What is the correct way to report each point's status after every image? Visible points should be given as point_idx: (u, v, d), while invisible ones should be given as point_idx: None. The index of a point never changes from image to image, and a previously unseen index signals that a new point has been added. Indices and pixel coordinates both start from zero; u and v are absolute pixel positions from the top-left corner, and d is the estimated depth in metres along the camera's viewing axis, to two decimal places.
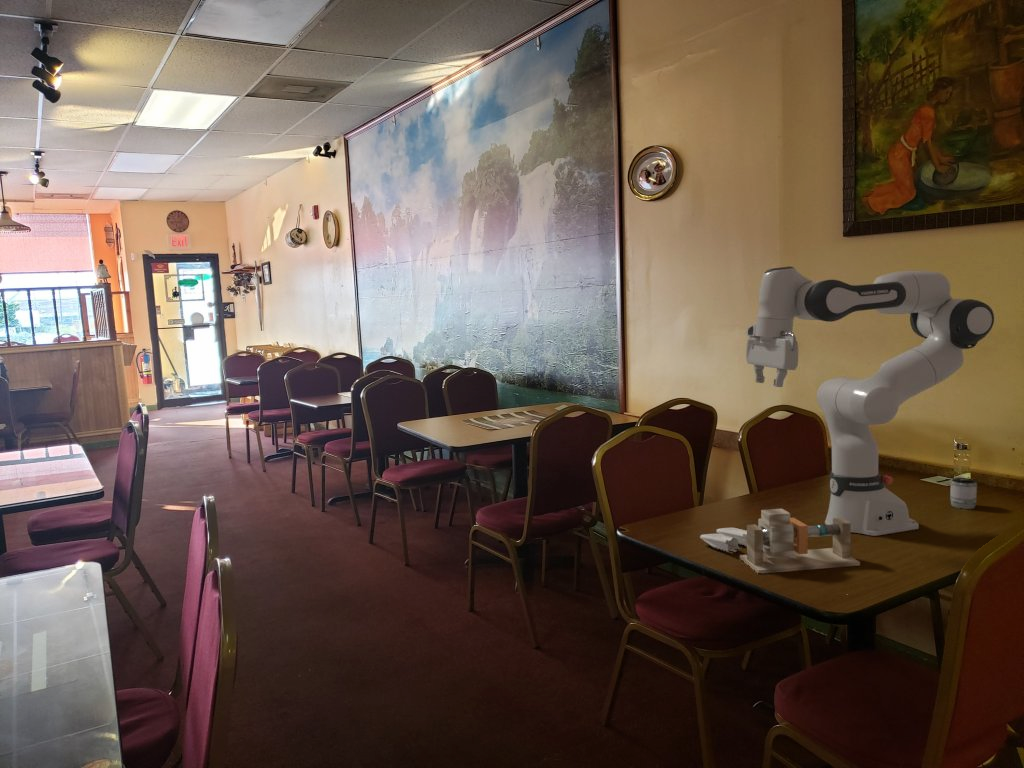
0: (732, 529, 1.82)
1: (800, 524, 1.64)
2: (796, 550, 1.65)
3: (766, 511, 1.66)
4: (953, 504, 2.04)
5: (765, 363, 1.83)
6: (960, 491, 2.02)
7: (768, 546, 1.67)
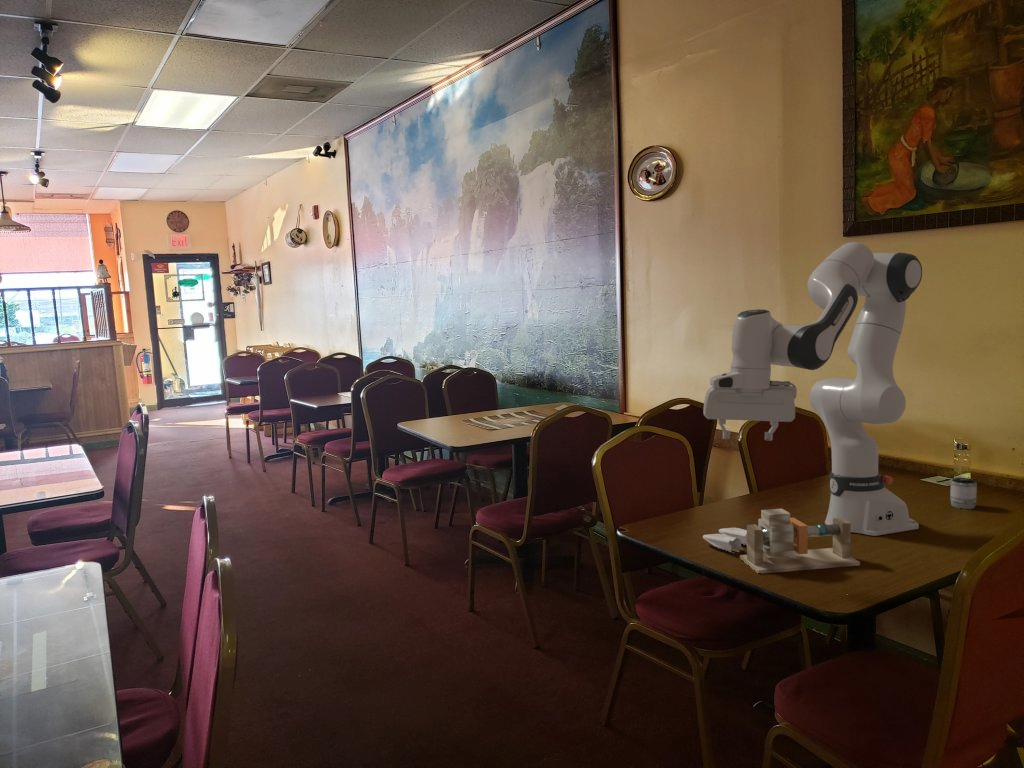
0: (734, 529, 1.82)
1: (800, 524, 1.64)
2: (796, 550, 1.65)
3: (766, 511, 1.66)
4: (953, 504, 2.04)
5: (754, 417, 1.66)
6: (960, 491, 2.02)
7: (768, 546, 1.67)
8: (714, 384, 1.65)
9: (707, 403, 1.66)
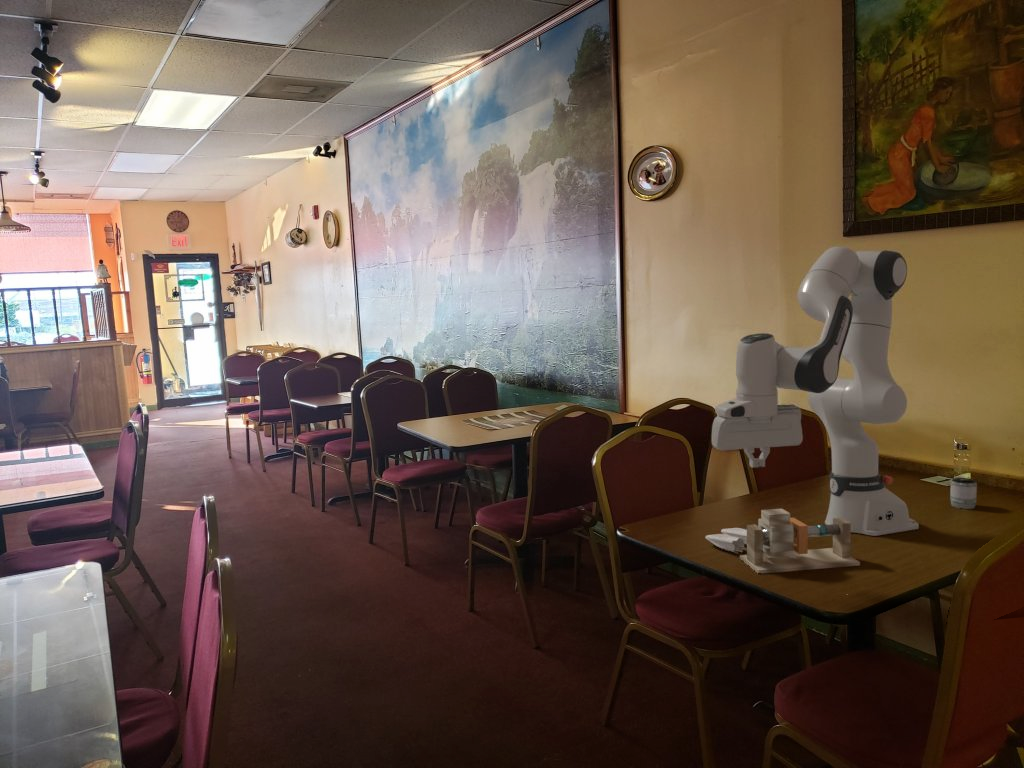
0: (737, 529, 1.82)
1: (800, 524, 1.64)
2: (796, 550, 1.65)
3: (766, 511, 1.66)
4: (953, 504, 2.04)
5: (765, 444, 1.62)
6: (960, 491, 2.02)
7: (768, 546, 1.67)
8: (726, 414, 1.59)
9: (719, 434, 1.60)
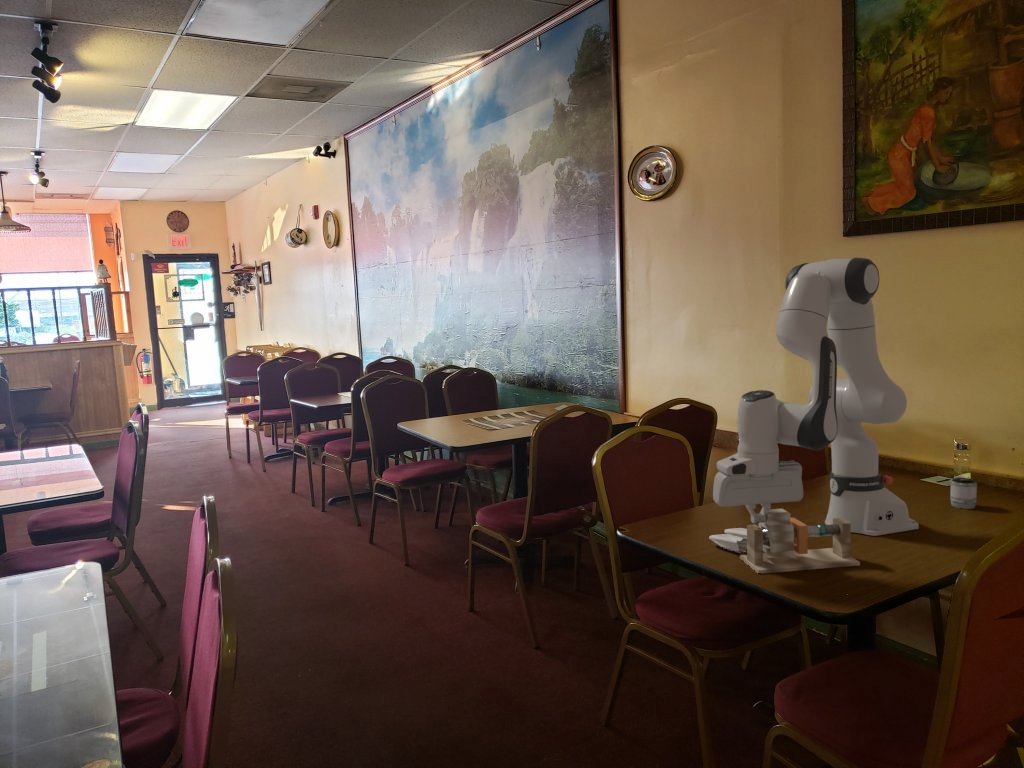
0: (741, 529, 1.82)
1: (800, 524, 1.64)
2: (796, 550, 1.65)
3: None
4: (953, 504, 2.04)
5: (766, 501, 1.63)
6: (960, 491, 2.02)
7: (768, 546, 1.67)
8: (728, 472, 1.60)
9: (721, 491, 1.61)
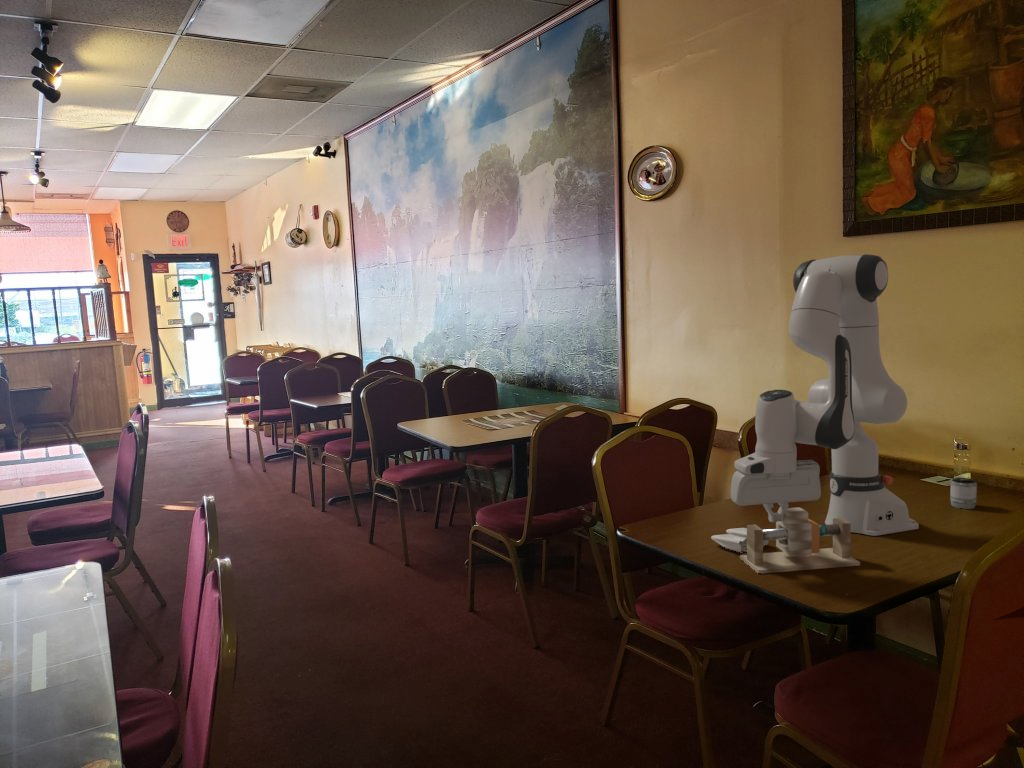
0: (743, 529, 1.82)
1: (812, 524, 1.64)
2: None
3: None
4: (953, 504, 2.04)
5: (783, 500, 1.63)
6: (960, 491, 2.02)
7: (786, 545, 1.67)
8: (746, 471, 1.60)
9: (739, 490, 1.62)
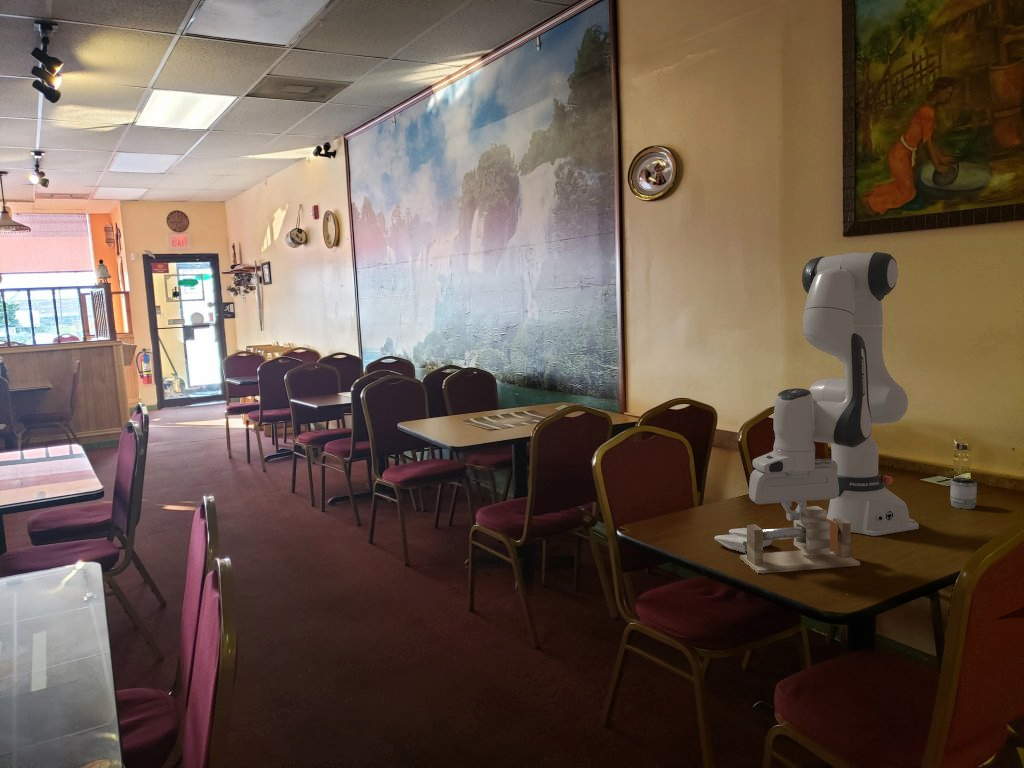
0: (746, 529, 1.81)
1: (830, 522, 1.65)
2: None
3: None
4: (953, 504, 2.04)
5: (802, 498, 1.64)
6: (960, 491, 2.02)
7: (804, 543, 1.67)
8: (765, 469, 1.61)
9: (757, 489, 1.62)
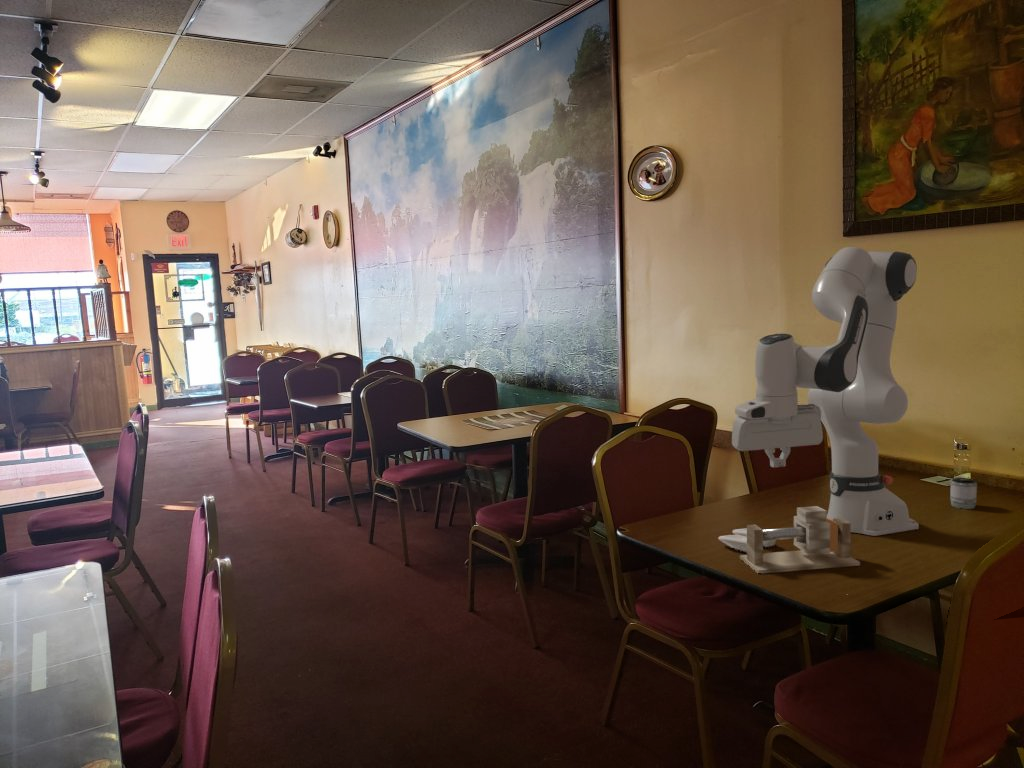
0: None
1: (830, 522, 1.65)
2: None
3: (802, 508, 1.67)
4: (953, 504, 2.04)
5: (785, 444, 1.62)
6: (960, 491, 2.02)
7: (804, 543, 1.67)
8: (747, 415, 1.59)
9: (740, 435, 1.60)
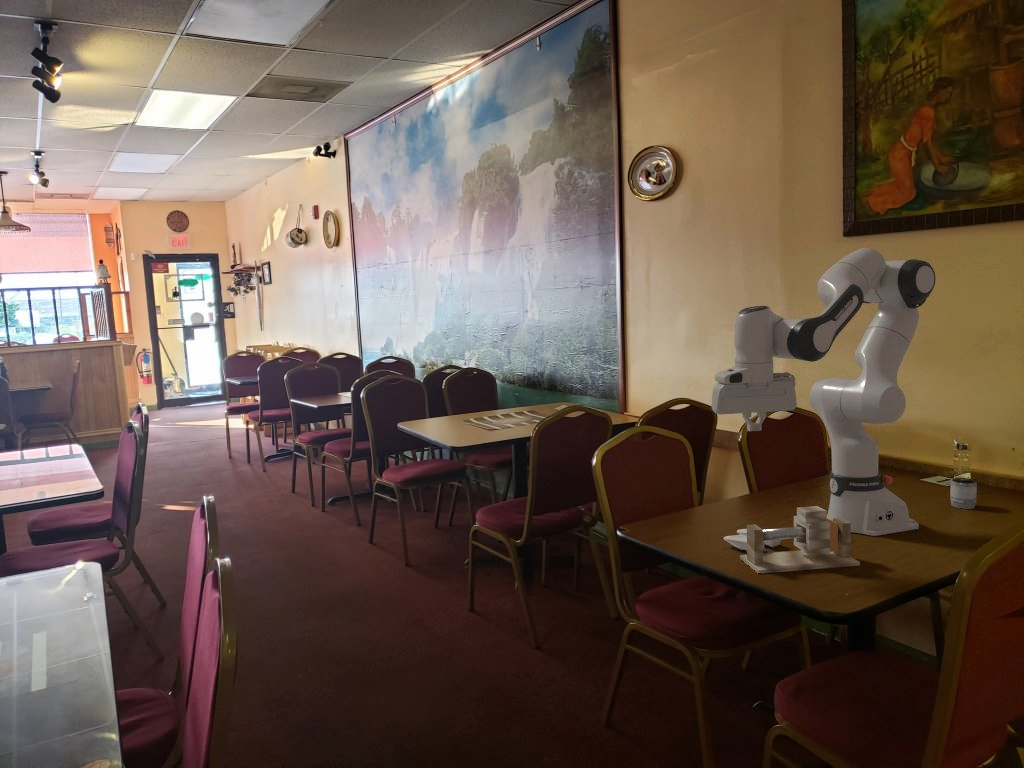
0: None
1: (830, 522, 1.65)
2: None
3: (802, 508, 1.67)
4: (953, 504, 2.04)
5: (761, 409, 1.73)
6: (960, 491, 2.02)
7: (804, 543, 1.67)
8: (725, 380, 1.70)
9: (719, 399, 1.72)
